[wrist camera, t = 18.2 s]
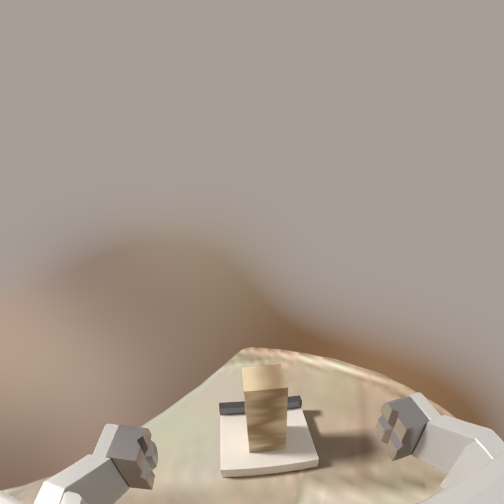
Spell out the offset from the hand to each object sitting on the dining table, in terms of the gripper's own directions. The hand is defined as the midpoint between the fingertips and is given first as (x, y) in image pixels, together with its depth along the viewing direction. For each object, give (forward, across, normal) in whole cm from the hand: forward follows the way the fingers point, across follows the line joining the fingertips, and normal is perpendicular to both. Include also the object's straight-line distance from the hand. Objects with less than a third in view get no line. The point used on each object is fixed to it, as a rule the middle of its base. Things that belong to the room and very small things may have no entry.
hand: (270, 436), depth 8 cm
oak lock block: (+22, -2, +26) cm, 34 cm away
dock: (+23, -2, +28) cm, 36 cm away
